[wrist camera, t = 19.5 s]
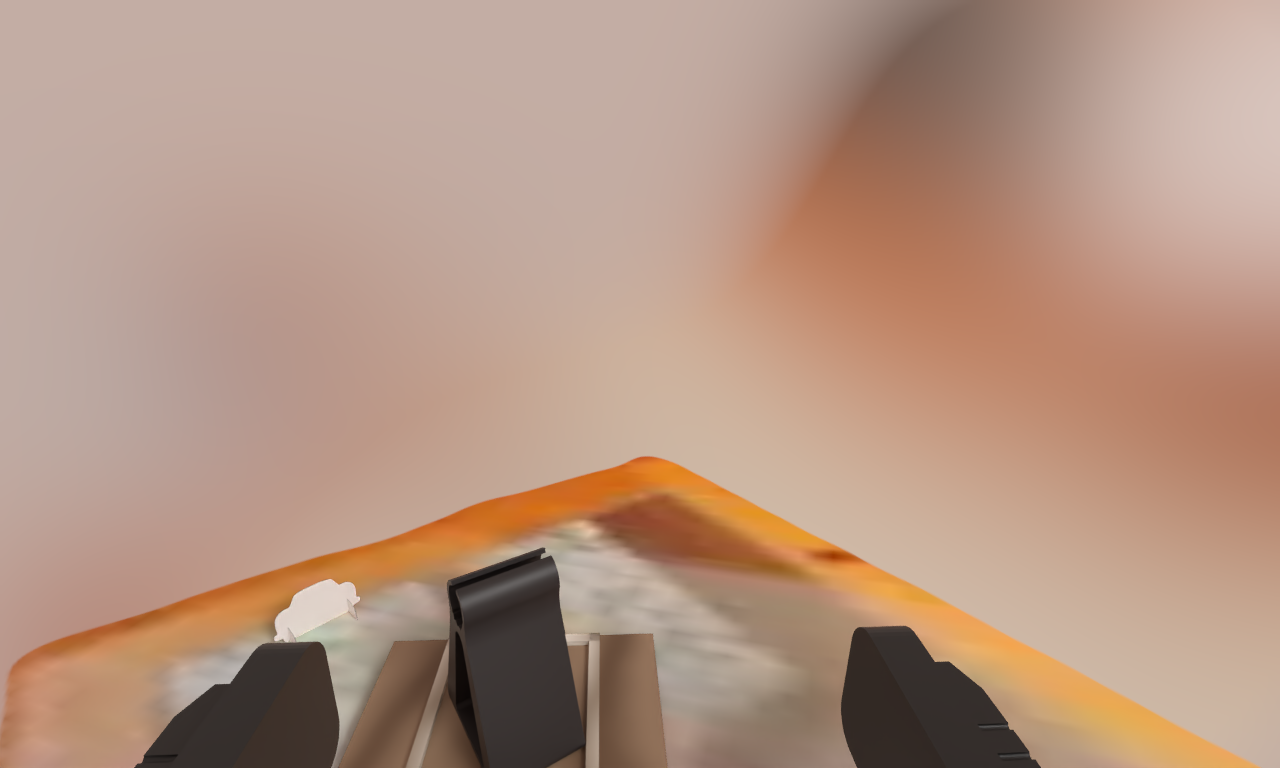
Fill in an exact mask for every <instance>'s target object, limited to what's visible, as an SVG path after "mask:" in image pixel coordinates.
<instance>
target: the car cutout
mask: <svg viewBox="0 0 1280 768" xmlns="http://www.w3.org/2000/svg"><path fill="white" fill-rule="evenodd" d="M358 601H360V596H357V597H356V589H355V586H354V585H353V583H351V582H344V583H341V584H337V583H335V582H334V581H333V580H332V579H327V580H324V581H321V582H318V583H316V584H314V585H311V586H309V587H307V588H305V589H303V590H301V591H299V592H298V593H296V594H295V595H294V596H293V599H292V602H291V604H290V606H289V608H287V609H284V610H283V611H281V612H280V613H279V614H278V615H277V617H276V619H275V629H276V631H277V635H276V636H275V637H274V639H275V640H274V641H279V640H281V639H283V640H284V641H285V642H288V641H291V642H292V643H293V642H296V640H295V638H296V637H298V636H300V635H302V634H304V633H306V632H308V631H310V630H312V629H314V628H316V627H318V626H321V625H323V624H325V623H327V622H329V621H331V620H333V619H335V618H337V617H339V616H341V615H343V614H345V613H347V612H350V613H351V614H352V615H353V616H354V618H355V619H356V620H357V614H356V610H355V608H354V604H355V603H357V602H358Z"/></svg>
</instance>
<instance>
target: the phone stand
mask: <svg viewBox="0 0 1280 768" xmlns="http://www.w3.org/2000/svg"><path fill="white" fill-rule="evenodd" d="M543 553H546V552H545V548H540V549H537V550H534V551H531V552H528V553H526V554H523V555H520V556H517V557H514V558H511V559H508V560H506V561H503V562H500V563H497V564H494V565H491V566H488V567H485V568H483V569H480V570H477V571H474V572H471V573H468V574H465V575H463V576H460V577H457V578H454V579H451V580H449V581H448V583H447V591H448V598H449V606H450V636H449V662H448V694H449V697H450V699H451V701H452V703H453V706H454V708H455V710H456V712H457V714H458V717H459V719H460V721H461V723H462V726H463V728H464V730H465V732H466V735H467V737H468V739H469V740H470V743H471V746H472V748H473V750H474V752H475V755H476V757H477V759H478V761H479V764H480V766H481V768H547V767H549V766H551V765H552V764H554V763H556V762H558V761H559V760H561V759H563V758H565V757H567V756H568V755H570V754H572V753H574V752H575V751H577V750H579V749H581V748H582V747H584V746H585V745H586V743H585V738H584V732H583V727H582V721H581V716H580V711H579V705H578V700H577V695H576V689H575V684H574V679H573V673H572V668H571V663H570V657H569V652H568V647H567V641H566V636H565V630H564V625H563V620H562V614H561V609H560V601H559V588H560V583H559V575H558V571H557V568H556V565H555V562H554V560H553V558H552V556H549V557H546V558H543V559H541V554H543Z"/></svg>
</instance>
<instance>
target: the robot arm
mask: <svg viewBox="0 0 1280 768" xmlns="http://www.w3.org/2000/svg"><path fill="white" fill-rule="evenodd" d="M841 715H842V724H843V729H844V734H845V738H846V741H847V744H848V747H849V750H850V752H851V754H852V757H853V759H854V761H855V764H856V766H857V768H1041V767H1040V766H1039V764H1038V763H1037V761H1036V760H1032V759H1031V757H1030V755H1029V751H1028V749H1027V748H1026V747H1025V745H1024V744H1023V743H1022V741H1021V740H1020V738H1019V737H1018V736H1017V734H1016V733H1015V732H1014V730H1010V729H1009V727H1008V722H1007V721H1006V720H1005V718H1004V717H1003V716H1002V714H1001V713H1000V711H999V710H998V709H997V707H996V706H995V705H994V703H993V702H992V701H991V699H990V698H989V697H988V695H987V694H986V693H985V691H984V690H983V689H982V688H981V687H980V686H978V685H977V684H976V683H975V682H973V681H972V680H971V679H970V678H969V677H967V676H966V675H965V674H964V673H962V672H961V671H960V670H959V669H957V668H956V667H955V666H954V665H953V664H951V663H950V662H935V661H934V660H933V659H932V657H931V656H930V654H929V653H928V651H927V650H926V648H925V647H924V645H923V644H922V642H921V641H920V639H919V638H918V637H917V635H916V634H915V633H914V631H913V630H912V629H911V628H909V627H907V626H885V627H859V628H857V629H856V630H855V631H854V633H853V637H852V642H851V648H850V654H849V659H848V665H847V671H846V677H845V683H844V689H843V695H842V702H841ZM338 739H339V716H338V711H337V706H336V701H335V696H334V691H333V686H332V681H331V676H330V671H329V666H328V661H327V656H326V652H325V648H324V646H323V645H322V644H321V643H320V642H293V643H266V644H262V645H261V646H259V647H258V648H257V649H256V650H255V651H254V652H253V653H252V655H251V656H250V657H249V659H248V660H247V661H246V663H245V664H244V665H243V667H242V668H241V670H240V671H239V672H238V674H237V675H236V676H235V678H234V679H233V681H232V682H231V683H230V684H215V685H214V686H213V687H211V688H210V689H209V690H208V691H206V692H205V693H204V694H203V695H201V696H200V697H199V698H198V699H196V700H195V701H194V702H192V703H191V704H190V705H189V706H187V707H186V708H185V709H184V710H182V711H181V712H180V713H179V714H177V715H176V716H175V717H174V718H173V719H172V721H171V722H170V723H169V724H168V726H167V727H166V728H165V729H164V731H163V732H162V733H161V734H160V736H159V737H158V738H157V740H156V741H155V742H154V743H153V745H152V746H151V747H150V748H149V750H148V751H147V752H146V753H145V755H144V759H143V762H142V763H141V764H137V765H136V766H135V767H134V768H331V766H332V763H333V760H334V757H335V754H336V750H337V745H338Z"/></svg>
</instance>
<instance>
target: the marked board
mask: <svg viewBox="0 0 1280 768" xmlns="http://www.w3.org/2000/svg"><path fill="white" fill-rule="evenodd" d="M565 636H566V641H567V647H568V652H569V657H570V663H571V668H572V673H573V679H574V684H575V689H576V695H577V700H578V705H579V711H580V716H581V721H582V727H583V732H584V738H585V743H586V745H585V746H584V747H582V748H581V749H579V750H577V751H575V752H574V753H572V754H570V755H568V756H567V757H565V758H563V759H561V760H559V761H558V762H556V763H554V764H552V765H551V766H549V767H547V768H667V759H666V750H665V741H664V732H663V723H662V714H661V705H660V695H659V686H658V677H657V668H656V659H655V650H654V641H653V634H626V635H600V633H584V634H565ZM448 662H449V639H448V640H427V641H395V642H394V644H393V646H392V648H391V651H390V653H389V655H388V657H387V660H386V662H385V664H384V666H383V669H382V671H381V673H380V675H379V678H378V680H377V682H376V684H375V687H374V689H373V691H372V693H371V696H370V698H369V700H368V702H367V704H366V707H365V709H364V711H363V713H362V716H361V718H360V720H359V722H358V725H357V727H356V729H355V731H354V734H353V736H352V738H351V740H350V743H349V745H348V747H347V749H346V752H345V754H344V756H343V758H342V761H341V763H340V765H339V767H338V768H481V766H480V764H479V761H478V759H477V757H476V755H475V752H474V750H473V748H472V746H471V743H470V740H469V739H468V737H467V735H466V732H465V730H464V728H463V726H462V723H461V721H460V719H459V717H458V714H457V712H456V710H455V708H454V706H453V703H452V701H451V699H450V697H449V694H448Z"/></svg>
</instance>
